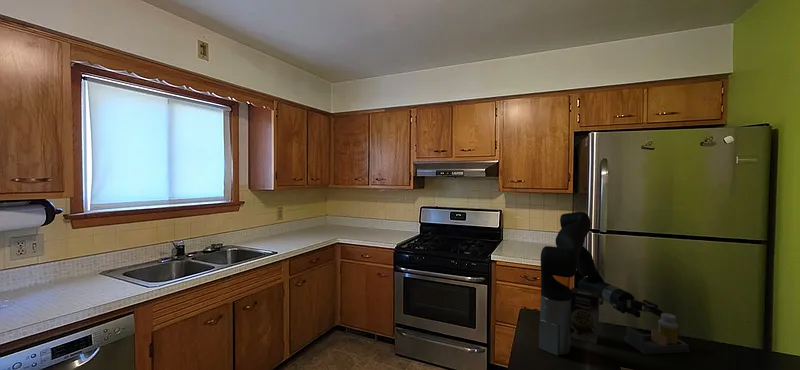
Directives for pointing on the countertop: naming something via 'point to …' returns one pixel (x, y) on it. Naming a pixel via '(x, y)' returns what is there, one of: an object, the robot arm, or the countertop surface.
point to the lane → (652, 344)
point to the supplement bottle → (669, 328)
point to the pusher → (659, 337)
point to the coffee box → (585, 315)
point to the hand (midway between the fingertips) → (650, 314)
